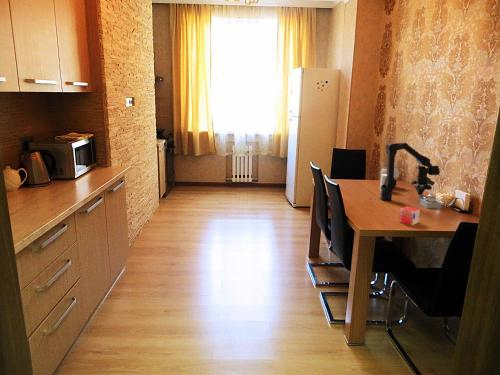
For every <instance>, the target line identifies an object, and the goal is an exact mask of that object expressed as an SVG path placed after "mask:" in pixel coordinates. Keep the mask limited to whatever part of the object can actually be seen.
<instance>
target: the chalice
mask: <svg viewBox="0 0 500 375" xmlns="http://www.w3.org/2000/svg"><path fill="white" fill-rule="evenodd" d="M381 174H387V166H386V167H383V168H382V169H381V170H380V175H381ZM399 176H400V171H399V169H398V168H395V167H394V179H397V178H398V177H399Z"/></svg>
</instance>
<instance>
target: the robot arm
mask: <svg viewBox="0 0 500 375" xmlns="http://www.w3.org/2000/svg"><path fill="white" fill-rule="evenodd" d="M401 150H404V151H406V153H407V154H410V155H411V156H412V157H413V158H414V159H415V160H416V163H418V165H417V166H415V169H417V170H418V171H417V172H418V173H417V175H416V178H417V179H415V180H414V179H413V180H411V185H412V186H413V185H415V186H414V188H415V190H416V192H417V195H418V197H419V194H423V193H424V191H426V190H429V191H432V189H433V187H434V185H435V184H436V182H435V181H433V180H432V179H431V178H429V177H428V175H429V176H439V175H440V173H441V172H440V171H441V170H440V168H439V167H440V166H439V165H432V163H431V158H429V157H426V156H425V155H422V154H421V153H419V152H418V151H417V150H415V149H414V148H413V147H412V146H410V145H409V144H408V143H407V142H404V141H403V142H399V143H393V142H388V143H387V144H386V145H385V152H386V156H387V161H386V162H387V163H386V164H387V165H386V167H387V177H386V179H385V182H384V184H383V185H382V186H381V187H380V186H379V189H380V188H381V190H382V191H381V190H380V197H379V199H380V200H381V201H386V202H387V201H390V202H391V201H392V197H393V196H392V195H393V191H394V190H395V189H396V188H397V181H398V180H397V178H395V179H394V168H395V161H396V160H395V157H396V155H397V152H398V151H401Z"/></svg>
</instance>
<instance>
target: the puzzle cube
mask: <svg viewBox="0 0 500 375" xmlns="http://www.w3.org/2000/svg"><path fill="white" fill-rule="evenodd" d="M420 211H421V208H415V207H412V206H404V207H401V208H399V216H398V223H402V224H406V225H409V226H413V225H416V224H418V223H419V219H420Z"/></svg>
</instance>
